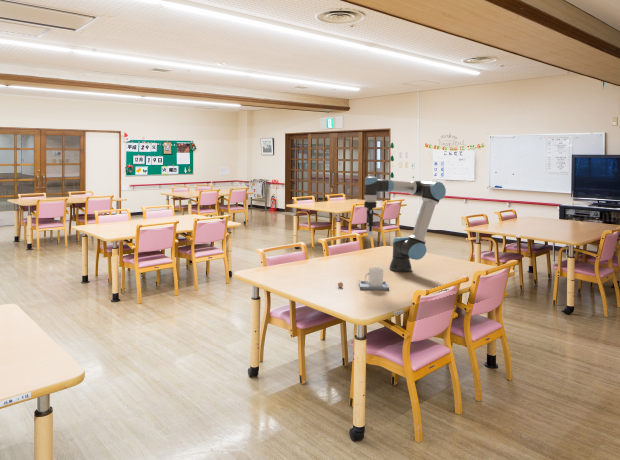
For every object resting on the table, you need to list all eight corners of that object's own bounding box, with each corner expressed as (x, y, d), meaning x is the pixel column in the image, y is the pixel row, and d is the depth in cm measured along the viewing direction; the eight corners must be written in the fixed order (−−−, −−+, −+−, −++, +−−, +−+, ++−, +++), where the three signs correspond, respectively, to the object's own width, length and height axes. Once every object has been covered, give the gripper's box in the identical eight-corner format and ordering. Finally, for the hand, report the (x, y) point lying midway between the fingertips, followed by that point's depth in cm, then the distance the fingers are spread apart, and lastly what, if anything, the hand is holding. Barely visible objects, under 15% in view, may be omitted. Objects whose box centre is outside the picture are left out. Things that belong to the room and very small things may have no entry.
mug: (360, 285, 295) (361, 268, 293) (377, 283, 300) (378, 266, 298) (368, 289, 287) (368, 271, 286) (385, 287, 292) (386, 269, 290)
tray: (386, 284, 301) (386, 281, 301) (388, 290, 287) (389, 287, 287) (358, 283, 302) (358, 280, 301) (360, 289, 288) (360, 286, 288)
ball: (343, 286, 294) (343, 281, 293) (343, 288, 291) (343, 282, 290) (337, 286, 294) (337, 281, 293) (337, 288, 291) (337, 282, 290)
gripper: (363, 199, 319) (362, 231, 322) (365, 203, 294) (364, 237, 298) (374, 199, 319) (373, 231, 322) (378, 203, 294) (376, 238, 297)
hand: (369, 234), depth 310 cm, fingers open, 13 cm apart
